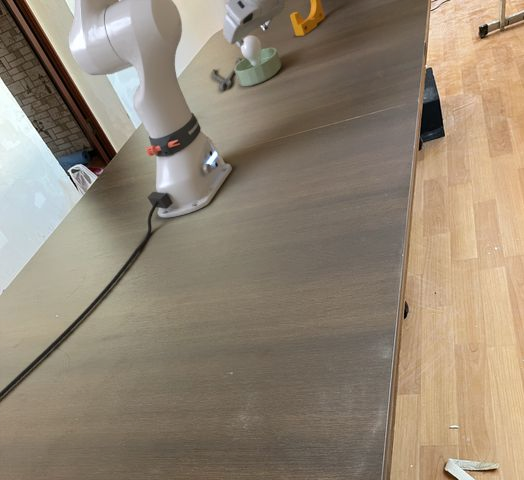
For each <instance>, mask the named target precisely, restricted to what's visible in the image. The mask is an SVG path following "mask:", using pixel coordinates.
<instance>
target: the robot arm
mask: <svg viewBox="0 0 524 480" xmlns="http://www.w3.org/2000/svg"><path fill="white" fill-rule="evenodd" d="M285 4H286V0H228V1H227V2H226V4H225V10H226V14H225V16H224V19H223V26H222V27H223V28H222V34H223V37H224V38H225V40H226V41H227V42H228V44H230V45H234V44H236V45H237V47H238V48H241V46H243V45H244V44H243V43H244V40H243V39H244V38H245V37H247V36H249V34H251V33H252V32H254V31H255V30H257V29H258V28H260V29H261V30H262V31H263V32H265V31H267V30H268V29H269V25H270V24H271V22H272V21H273V19H274V18H275V17H277V16H279V15H280V14H281V13H282V12H283V10H284V9H285ZM182 34H183V22H182V17H181V14H180V12H179V9H178V7H177V5H176V3H175V2H174V1H173V0H74V14H73V20H72V24H71V27H70V29H69V32H68V47H69V51H70V54H71V56H72V58H73V60H74V61H75V63H76V65H77V66H78V67H79V68H80V69H81V70H82V71H83V72H85V73H86V74H88V75H90V76H106V75H113V74H116V73H119V72H121V71H124V70H126V69H129V68H132V67H134V69H135V71H136V73H137V76H138V79H139V85H137V88H136V89H135V91H134V94H133V99H132V106H133V109H134V111H135V113H136V115H137V116H138V118H139V120H140V121H141V123H142V125H143V127H144V129H145V130H146V132H147V134H148V139H149V142H150V143H149V144H150V146H146V148H145V150H146V154H147V155H148V156H149V157H152V156H155V159H156V160H155V189H156V191H152V192H151V193H150V194H149V195H147V199H148V201H149V202H150V204H151V206H152V207H151V209H150V211H149V214H148V216H147V233H146V236H145V237H144V239H143V240H142V242H141V243H140V244H139V245H138V246H137V247H136V248H135V250H134V251H133V252H132V254H131V255H130V257H129V258H128V259H127V261H126V262H125V263H124V264H123V265H122V267H121V268H120V270H118V272H117V273H116V274H115V276H114V277H113V278H112V279H111V281H110V282H109V283H108V284H107V285H106V286H105V287H104V289H103V290H102V291H101V292H100V293H99V295H98V296H96V298H95V299H93V301H92V302H91V303H90V304H89V306H87V308H86V309H85V310H84V311H83V312H81V314H80V315H79V316H78V317H77V318H76V319H75V320H74V321H73V322H72V323H71V324H70V325H69V326H68V327H67V328H66V329H65V330H64V331H63V332H62V333H61V334H60V335H59V336H58V337H57V338H56V339H55V340H54V341H52V342H51V344H49V346H48V347H47V348H46V349H44V350H43V351H42V352H41V353H40V354H39V355H38V356H37V357H36V358H35V359H34V360H33V361H32V362H31V363H29V365H28V366H27V367H25V368H24V369H23V370H22V371H21V372H20V373H19V374H18V375H17V376H15V378H13V380H11V381H10V382H9V383H8V384H7V385H6V386H5V387H4V388H3V389H2V390H1V391H0V399H1V398H2V397H3V396H4V395H5V394H6V393H7V392H8V391H9V390H10V389H12V388H13V387H14V385H16V384H17V383H18V382H19V381H20V380H21V379H22V378H23V377H24V376H26V375H27V373H29V371H31V370H32V369H33V368H34V367H35V366H36V365H37V364H38V363H39V362H40V361H41V360H42V359H44V357H45V356H47V355H48V354H49V353H50V352H51V351H52V350H53V348H55V347H56V346H57V345H58V344H59V343H60V342H61V341H62V340H63V339H64V338H65V337H67V335H68V334H69V333H70V332H71V331H72V330H73V329H74V328H75V327H76V326H78V324H79V323H80V322H81V321H82V320H83V319H84V318H85V317H86V315H88V314H89V312H90V311H91V310H92V309H93V308H94V307H95V306H96V305H97V304H98V303H99V301H100V300H101V299H102V298H103V297H104V296H105V295H106V294H107V293H108V291H110V289H111V288H112V287H113V285H114V284H115V283H116V282H117V281H118V279H119V278H120V277H121V276H122V275H123V273H124V272H125V270H126V269H127V268H128V267H129V265H130V264H131V263H132V262H133V260H134V259H135V258H136V256H137V255H138V253H139V252H140V250H141V249H142V248H143V247H144V246H145V245H146V244H147V242H148V241H149V238H150V236H151V233H152V218H153V214H154V212H155V211H156V208H158V209H157V215H158V217H160V218H165V219H167V218H174V217H175V218H176V217H179V216H183V215H187V214H190V213H193V212H196V211H198V210H200V209H202V208H205V207H206V206H208V205H209V204H210V203H211V201H212V199H213V198H214V196H215V195H216V194H217V192H218V191H219V189H220V188H221V186H222V185H223V183H224V182H225V180H226V179H227V177H228V176H229V174H230V173H231V172H232V171H233V167H232V165H231V164H230V163H225V161H224V159H223V158H222V156H221V154H220V152H219V149H218V148H217V146H216V145H215V143H214V142H213V140H212V139H211V138H210V137H208V136H207V135H206V134H205V133H204V132H203V131H202V130H201V129H202V128H201V125H200V123H199V120H198V118H197V117H196V115H195V114H194V113H193V112H192V110H191V109H190V107H189V105H188V102H187V100H186V98H185V95H184V94H183V91H182V89H181V86H180V84H179V80H178V77H177V71H176V70H177V69H176V54H177V50H178V46H179V44H180V42H181V40H182Z"/></svg>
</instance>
